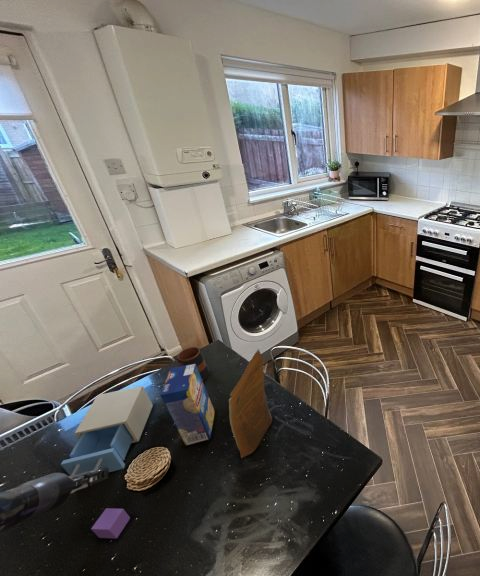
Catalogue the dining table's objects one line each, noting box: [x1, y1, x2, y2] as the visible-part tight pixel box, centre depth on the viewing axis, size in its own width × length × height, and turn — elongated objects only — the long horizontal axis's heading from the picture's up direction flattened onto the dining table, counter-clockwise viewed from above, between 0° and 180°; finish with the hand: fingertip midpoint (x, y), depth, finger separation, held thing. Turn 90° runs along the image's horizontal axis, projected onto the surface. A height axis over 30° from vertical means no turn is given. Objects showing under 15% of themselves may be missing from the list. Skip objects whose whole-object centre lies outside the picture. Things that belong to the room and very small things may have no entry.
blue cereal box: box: [159, 363, 216, 446], centre depth 95 cm, size 7×11×22 cm, turn 19°
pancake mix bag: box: [228, 348, 273, 459], centre depth 92 cm, size 7×19×28 cm, turn 169°
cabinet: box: [74, 385, 154, 444], centre depth 98 cm, size 15×13×10 cm
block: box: [90, 507, 131, 539], centre depth 75 cm, size 4×4×4 cm
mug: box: [174, 346, 210, 382], centre depth 116 cm, size 9×12×12 cm
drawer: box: [60, 424, 133, 480], centre depth 88 cm, size 18×11×8 cm, turn 18°
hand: (87, 476), depth 82 cm, fingers open, 8 cm apart
